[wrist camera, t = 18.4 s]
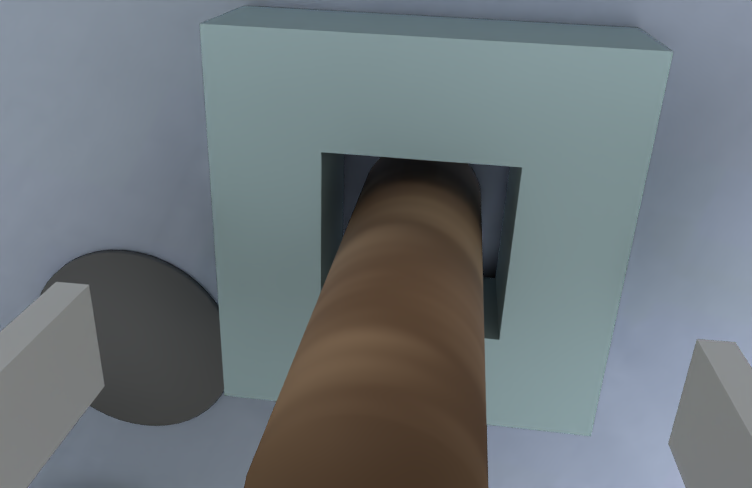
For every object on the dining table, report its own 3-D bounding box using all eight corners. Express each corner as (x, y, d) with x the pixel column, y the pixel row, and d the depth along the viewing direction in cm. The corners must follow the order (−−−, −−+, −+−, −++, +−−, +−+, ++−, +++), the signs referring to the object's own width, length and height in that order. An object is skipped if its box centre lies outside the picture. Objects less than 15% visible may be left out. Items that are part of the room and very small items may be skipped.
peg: (361, 246, 25) (248, 582, 12) (365, 137, 23) (238, 400, 11) (474, 256, 25) (475, 614, 12) (487, 147, 23) (502, 430, 10)
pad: (56, 410, 30) (53, 414, 30) (23, 241, 27) (19, 244, 26) (238, 431, 29) (236, 435, 29) (228, 259, 26) (225, 263, 26)
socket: (257, 331, 27) (224, 395, 24) (244, 5, 22) (199, 23, 18) (574, 363, 26) (590, 436, 22) (638, 27, 21) (673, 51, 17)
